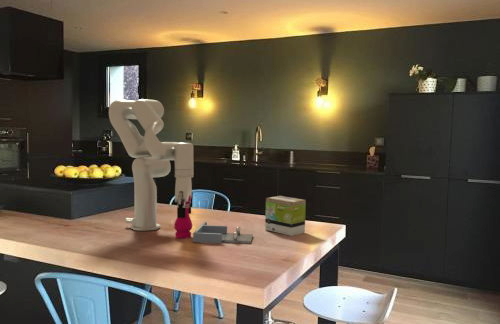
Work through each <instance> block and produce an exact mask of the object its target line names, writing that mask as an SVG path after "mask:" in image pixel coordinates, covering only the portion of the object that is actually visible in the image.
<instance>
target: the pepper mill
mask: <svg viewBox="0 0 500 324" xmlns="http://www.w3.org/2000/svg"><path fill="white" fill-rule="evenodd" d="M191 200H192V197H191V195H190V196H189V199H188V201H187V202H185V208H186V217H185V218H178V217H177V216H176V218H175V222H174V226H173V228H174V230H175V234H174V236H175V238H176V239H189V238H191V237H192V232H191V231H192V228H193V222H192V219H191V217H190V214H189V211H188V210H189V207H190V204H189V202H190V201H191ZM191 202H192V201H191Z"/></svg>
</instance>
